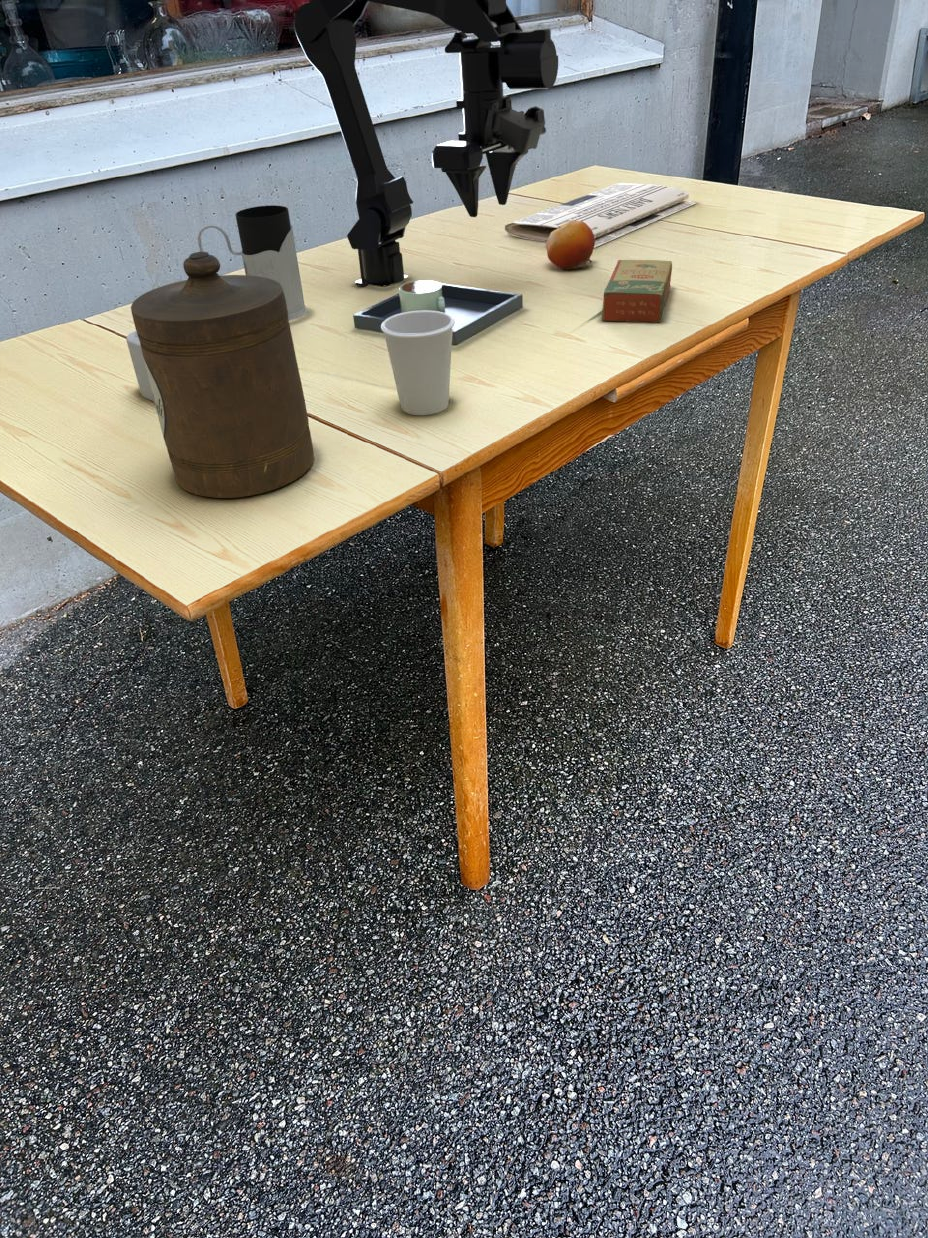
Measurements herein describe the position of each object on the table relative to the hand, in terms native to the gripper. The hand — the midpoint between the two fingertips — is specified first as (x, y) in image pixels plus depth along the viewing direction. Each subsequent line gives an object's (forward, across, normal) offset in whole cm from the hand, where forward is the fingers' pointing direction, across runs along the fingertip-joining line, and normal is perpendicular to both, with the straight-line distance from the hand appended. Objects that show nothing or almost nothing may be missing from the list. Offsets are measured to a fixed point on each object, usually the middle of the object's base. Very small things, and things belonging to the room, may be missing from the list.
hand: (488, 210), depth 137 cm
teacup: (+12, -18, 0) cm, 21 cm away
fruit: (+12, +18, -4) cm, 22 cm away
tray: (+12, -14, 0) cm, 19 cm away
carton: (+13, +4, -23) cm, 26 cm away
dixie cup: (+12, -40, -16) cm, 45 cm away
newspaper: (+12, +48, +5) cm, 50 cm away
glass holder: (+12, -24, +26) cm, 38 cm away
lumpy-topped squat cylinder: (+12, -49, +14) cm, 52 cm away
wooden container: (+12, -62, -8) cm, 64 cm away
